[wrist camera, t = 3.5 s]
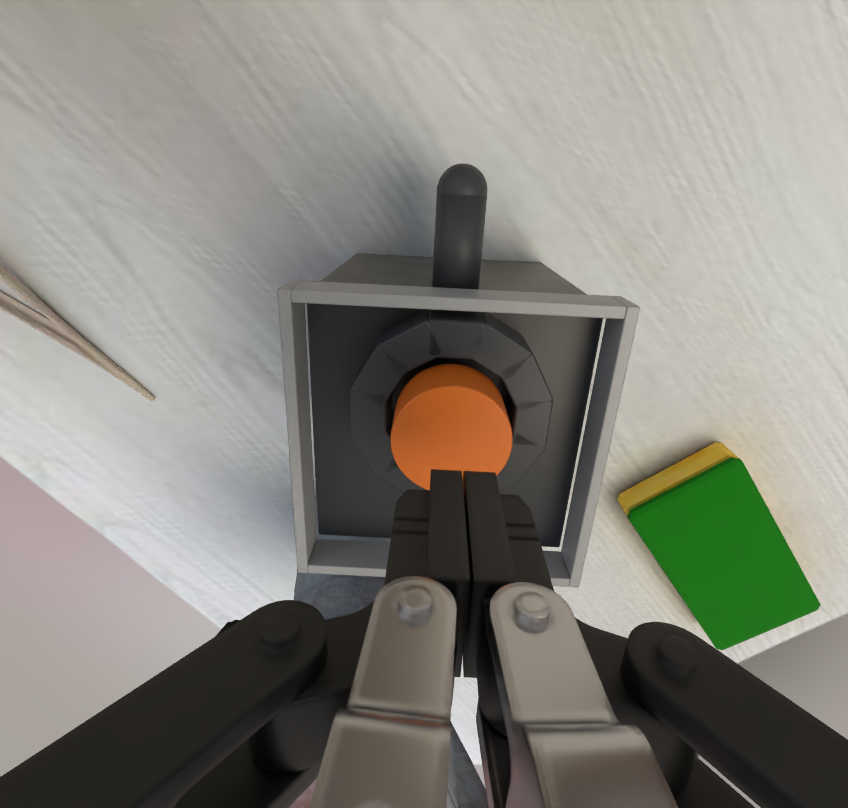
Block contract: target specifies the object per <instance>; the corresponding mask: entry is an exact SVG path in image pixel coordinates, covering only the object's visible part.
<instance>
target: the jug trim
mask: <svg viewBox="0 0 848 808" xmlns="http://www.w3.org/2000/svg"><path fill="white" fill-rule="evenodd" d="M486 200H487V184H486V180H485V178H484V176H483V174H482V173H481V172H480V171H479V170H478V169H477V168H476V167H474V166H472V165H469V164H457V165H454V166H452V167H450V168H448V169H447V170H446V171H445V172H444V173H443V175H442V176H441V178H440V180H439V183H438V186H437V201H436V221H435V241H434V261H433V281H432V287H419V286H399V285H378V284H358V283H338V282H318V281H298V280H292V281H290V282H289V283H287V284H285V285H284V286H282V287H280V288H279V289H278V303H279V317H280V331H281V345H282V359H283V373H284V387H285V401H286V414H287V428H288V442H289V456H290V470H291V484H292V498H293V511H294V525H295V539H296V553H297V567H298V572H299V573H317V574H336V575H355V576H374V577H385V576H386V569H387V562H388V555H389V548H390V543H388V542H369V541H350V540H331V539H317V537H316V518H315V498H314V479H313V459H312V440H311V420H310V401H309V381H308V361H307V342H306V322H305V303H310V304H330V305H350V306H370V307H390V308H410V309H430V310H450V311H470V312H490V313H510V314H530V315H550V316H570V317H590V318H606V322H605V328H604V333H603V338H602V343H601V348H600V354H599V359H598V364H597V369H596V374H595V379H594V385H593V390H592V395H591V400H590V405H589V410H588V416H587V421H586V426H585V431H584V436H583V442H582V447H581V452H580V457H579V462H578V467H577V473H576V478H575V483H574V488H573V493H572V498H571V504H570V509H569V514H568V519H567V524H566V530H565V535H564V540H563V545H562V550H561V552H558V551H543V554H544V557H545V561H546V564H547V568H548V571H549V575H550V579H551V582H552V586H561V587H568V586H569V587H579V585H580V580H581V575H582V571H583V566H584V562H585V557H586V553H587V548H588V543H589V539H590V534H591V530H592V525H593V521H594V516H595V511H596V507H597V502H598V498H599V493H600V489H601V484H602V479H603V475H604V470H605V466H606V461H607V457H608V452H609V447H610V443H611V438H612V434H613V429H614V425H615V420H616V415H617V411H618V406H619V402H620V397H621V393H622V388H623V383H624V379H625V374H626V370H627V365H628V360H629V356H630V351H631V347H632V342H633V338H634V333H635V328H636V324H637V319H638V315H639V310H640V307H639V306H637V305H635V304H634V303H632V302H630V301H628V300H627V299H625V298H623V297H620V296H611V297H610V296H600V295H580V294H560V293H539V292H519V291H499V290H479V280H480V269H481V257H482V246H483V235H484V223H485V212H486Z"/></svg>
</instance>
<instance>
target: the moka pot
mask: <svg viewBox="0 0 848 808" xmlns="http://www.w3.org/2000/svg"><path fill="white" fill-rule="evenodd" d="M315 518H316V537H317V539H331V540H350V541H369V542H388V543H390V541H391V538H376V537H357V536H338V535H320V534H318V518H317V497H315ZM384 582H385V577H374V576H355V575H336V574H317V573H299V572H298V567H297V578H296V584H295V590H294V600H295V601H301V602H305V603H308V604H310V605H312V606H314V607H315V608H317V609H318V610H319V611H320V612H321V614H322V615H323V617H324V619H325V620H326V619H330V618H335V617H340V616H344V615H348V614H352V613H355V612H357V611H359V610H361V609H363V608H365V607H367V606H368V605H369V604H371V603H372V602H373V601H374V600H375V598H376V596H377V594H378V592H379V591H380V590H381V589H382V588H383V586H384ZM239 621H240V620H234V621H232V622H228V623H227V624H226V625H225V626H224V627H223V628H222V629H221V630H220V632H219V633H218V634H217V635H219V634H220V633H222V632H223V631H225V630H226V629H228V628H229V627H231V626H232V625H234V624H236V623H237V622H239ZM217 635H216V636H217ZM316 781H317V779H316V780H315V781H314V782H313V783H312V784H311V785H310V786H309V787H308V788H307V789H306V790H305V791H304V792H303V793H302V794H301V795H300V796H299V797H298V798H297V799H296V800H295V801H294V802H293V804H292V805H291V806H290V807H289V808H309V806H310V802H311V799H312V795H313V792H314V788H315V784H316ZM446 808H489V807H488V800H487V793H486V789H485V787H484V785H483V783H482V781H481V779H480V777H479V775H478V773H477V771H476V769H475V767H474V765H473V763H472V761H471V759H470V757H469V755H468V754H467V752H466V750H465V748H464V746H463V744H462V742H461V740H460V738H459V737H458V735H457V733H456V731H455V729H454V727H453V725H452V723H451V734H450V753H449V771H448V788H447V806H446Z"/></svg>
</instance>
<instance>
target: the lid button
mask: <svg viewBox="0 0 848 808" xmlns="http://www.w3.org/2000/svg"><path fill="white" fill-rule="evenodd" d="M390 441H391V450H392V454H393V457H394V460H395V461H396V463H397V465H398V467H399V468H400V470H401V471H402V472H403V473H404V474H405V475H406V477H407V478H409V479H410V480H411V481H412V482H414V483H415V484H417V485H418V486H420V487H422V488H424V489H427V490H430V475H431V469H440V470H459V471H462V480H463V472H464V471H480V472H495V473H496V476H497V475H498V474H499V473H500V472H501V470H502V469H503V467H504V466H505V464H506V463H507V461H508V459H509V456H510V453H511V449H512V441H513V437H512V429H511V425H510V422H509V418H508V415H507V412H506V409H505V405H504V402H503V399H502V396H501V394H500V392H499V390H498V388H497V387H496V386H495V384H494V383H493V382H492V381H491V380H490V379H489V378H488V377H487V376H486V375H484V374H483V373H482V372H480V371H478V370H476V369H474V368H471V367H469V366H465V365H461V364H441V365H436V366H432V367H430V368H427V369H425V370H423V371H421V372H419V373H418V374H416V375H415V376H414V377H413V378H411V379H410V380H409V381H408V382H407V384H406V385H405V386H404V388H403V389H402V391H401V393H400V395H399V397H398V400H397V404H396V409H395V414H394V419H393V424H392V429H391V438H390Z"/></svg>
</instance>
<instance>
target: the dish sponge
mask: <svg viewBox="0 0 848 808" xmlns="http://www.w3.org/2000/svg"><path fill="white" fill-rule="evenodd" d="M617 500H618V502H619V503H620V505H621V507H622V508H623V510H624V512H625V514H626V515H627V517H628V519H629V520H630V522H631V523H632V525H633V526H634V528H635V529H636V531H637V532H638V534H639V535H640V537H641V538H642V540H643V541H644V543H645V544H646V545H647V547H648V548H649V550H650V551H651V553H652V554H653V556H654V557H655V559H656V560H657V562H658V563H659V565H660V566H661V568H662V569H663V571H664V572H665V573H666V575H667V576H668V578H669V579H670V581H671V582H672V584H673V585H674V587H675V588H676V590H677V591H678V593H679V594H680V596H681V597H682V599H683V600H684V602H685V603H686V604H687V606H688V607H689V609H690V610H691V612H692V613H693V615H694V616H695V618H696V619H697V621H698V622H699V624H700V625H701V627H702V628H703V630H704V631H705V632H706V634H707V635H708V637H709V638H710V640H711V641H712V643H713V644H714V646H715V647H716V649H721V650H724V649H726V648H729V647H731V646H734V645H736V644H738V643H741V642H743V641H745V640H748V639H750V638H753V637H755V636H757V635H760V634H762V633H764V632H767V631H769V630H771V629H774V628H776V627H779V626H781V625H783V624H786V623H788V622H790V621H793V620H795V619H798V618H800V617H802V616H805V615H807V614H809V613H812V612H814V611H816V610H818V608H819V607H820V603H819V601H818V599H817V597H816V595H815V594H814V592H813V590H812V588H811V586H810V584H809V583H808V581H807V579H806V577H805V575H804V573H803V572H802V570H801V568H800V566H799V564H798V562H797V561H796V559H795V557H794V555H793V553H792V551H791V550H790V548H789V546H788V544H787V542H786V540H785V539H784V537H783V535H782V533H781V531H780V529H779V528H778V526H777V524H776V522H775V520H774V518H773V517H772V515H771V513H770V511H769V509H768V507H767V506H766V504H765V502H764V500H763V498H762V496H761V495H760V493H759V491H758V489H757V487H756V485H755V484H754V482H753V480H752V478H751V476H750V474H749V473H748V471H747V469H746V467H745V465H744V463H743V462H742V461H741V460H740V459H739V458H737V456H736V455H735V454H734V453H732V452H731V451H730V450H729V449H728V448H727V447H726V446H725V445H723V444H721V443H713V444H711V445H710V446H708V447H706V448H704V449H702V450H700V451H698V452H696V453H695V454H693V455H691V456H689V457H687V458H685V459H683V460H681V461H680V462H678V463H676V464H674V465H672V466H670V467H668V468H666V469H665V470H663V471H661V472H659V473H657V474H655V475H653V476H651V477H650V478H648V479H646V480H644V481H642V482H640V483H638V484H637V485H635V486H633V487H631V488H629V489H627V490H625V491H623V492H622V493H620V494H619V497H618V499H617Z"/></svg>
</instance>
